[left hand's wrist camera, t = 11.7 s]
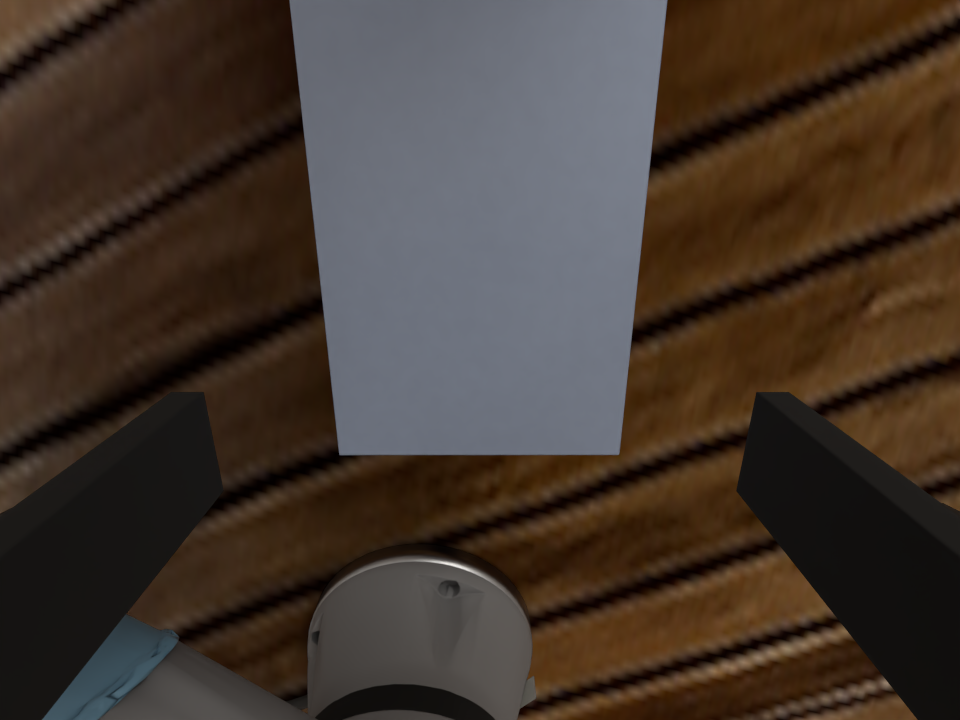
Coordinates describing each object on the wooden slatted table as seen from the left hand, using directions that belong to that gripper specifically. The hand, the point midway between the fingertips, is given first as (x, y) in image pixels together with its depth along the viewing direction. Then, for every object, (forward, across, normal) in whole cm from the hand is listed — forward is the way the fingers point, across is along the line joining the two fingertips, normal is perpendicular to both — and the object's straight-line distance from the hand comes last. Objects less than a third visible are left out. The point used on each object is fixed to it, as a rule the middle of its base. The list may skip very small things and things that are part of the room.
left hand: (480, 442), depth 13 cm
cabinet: (+17, 0, -5) cm, 18 cm away
